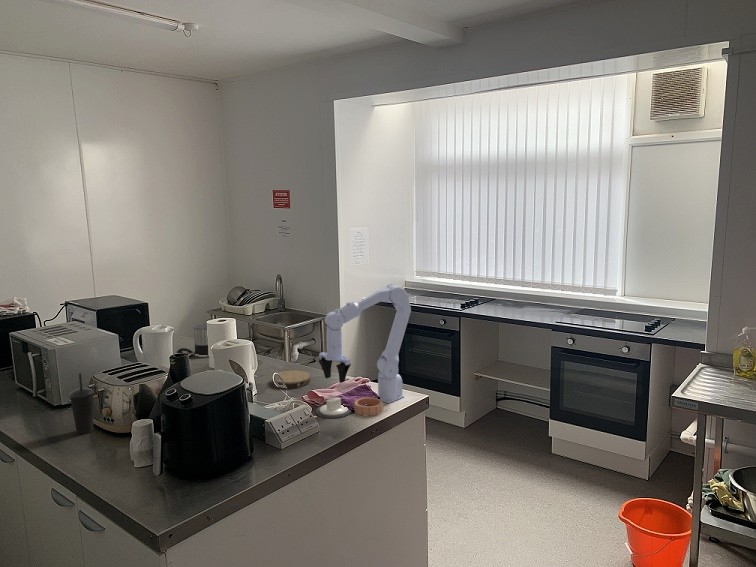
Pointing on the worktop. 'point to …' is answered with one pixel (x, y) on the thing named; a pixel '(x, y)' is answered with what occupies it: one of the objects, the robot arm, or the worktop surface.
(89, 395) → the drinking cup
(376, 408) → the bowl
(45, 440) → the worktop surface
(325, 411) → the lid
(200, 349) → the milk frother
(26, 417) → the worktop surface
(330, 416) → the mat
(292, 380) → the brown round disc
